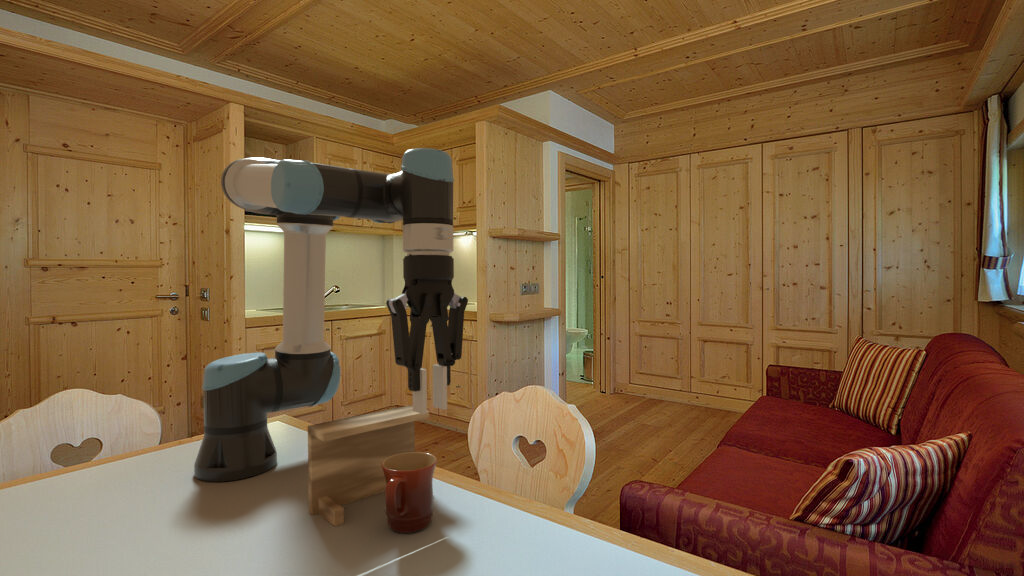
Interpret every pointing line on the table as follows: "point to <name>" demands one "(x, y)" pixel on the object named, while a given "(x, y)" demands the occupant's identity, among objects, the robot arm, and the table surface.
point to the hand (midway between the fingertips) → (430, 409)
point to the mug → (409, 490)
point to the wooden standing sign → (355, 457)
